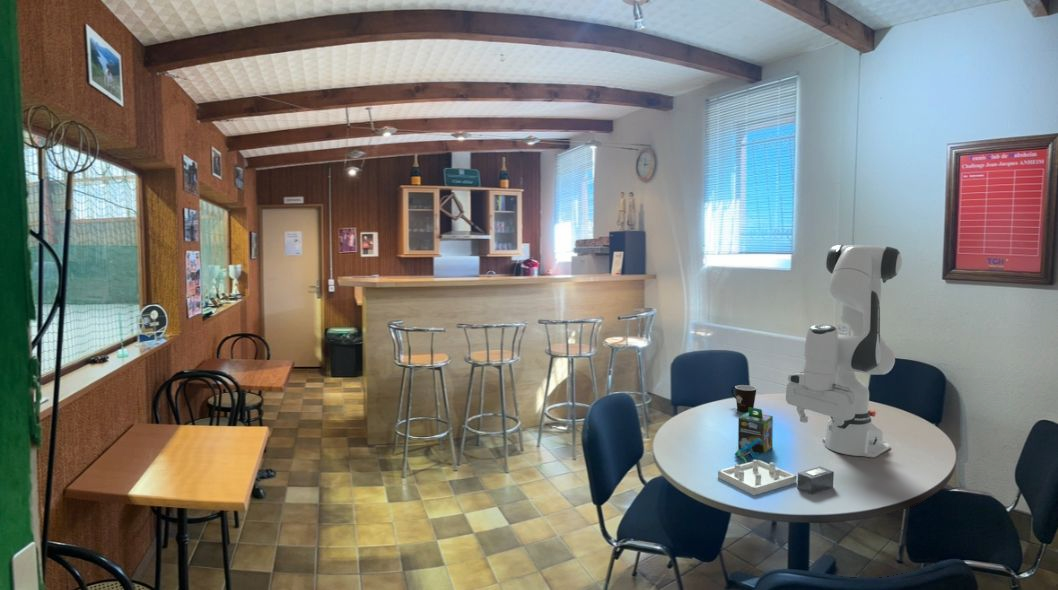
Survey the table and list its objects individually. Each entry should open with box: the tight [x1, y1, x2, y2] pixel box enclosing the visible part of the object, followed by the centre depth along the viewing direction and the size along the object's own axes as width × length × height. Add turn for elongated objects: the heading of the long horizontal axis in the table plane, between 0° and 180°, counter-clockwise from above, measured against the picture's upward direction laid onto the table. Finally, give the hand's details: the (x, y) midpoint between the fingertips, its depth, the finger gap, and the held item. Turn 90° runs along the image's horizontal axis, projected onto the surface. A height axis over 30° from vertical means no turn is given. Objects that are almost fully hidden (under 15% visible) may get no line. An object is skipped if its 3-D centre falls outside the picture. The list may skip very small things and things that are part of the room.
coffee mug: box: [730, 384, 757, 414], centre depth 245 cm, size 12×9×10 cm
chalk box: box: [737, 407, 774, 455], centre depth 200 cm, size 9×9×15 cm
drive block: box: [796, 466, 835, 495], centre depth 168 cm, size 10×4×5 cm, turn 117°
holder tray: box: [717, 459, 797, 496], centre depth 174 cm, size 18×14×4 cm
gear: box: [734, 438, 760, 463], centre depth 190 cm, size 11×6×10 cm
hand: (817, 426), depth 167 cm, fingers open, 8 cm apart
